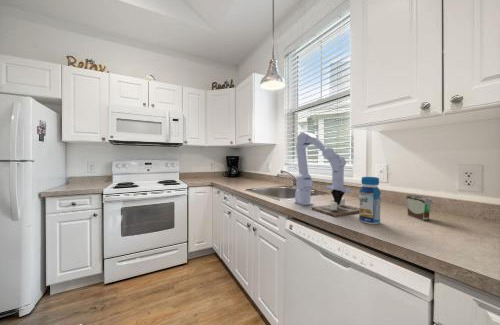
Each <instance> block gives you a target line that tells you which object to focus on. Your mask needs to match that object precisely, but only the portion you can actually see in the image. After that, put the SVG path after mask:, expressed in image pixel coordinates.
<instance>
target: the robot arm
mask: <svg viewBox="0 0 500 325" xmlns="http://www.w3.org/2000/svg"><path fill="white" fill-rule="evenodd" d="M296 140H297V142H296V147H295V148H296V156H297V158H296V159H297V166H298V175H297V177H296V183H295V184H296V187H297V189H295V192H294V200H295V201H293V202H294V203H295V204H298V205H302V206H309V205H314V203H313V202H311V200H312V199H311V191H312V188H313V186H314V182H313V180H312V175H310V173H309V169H308V168H309V166H308V159H307V152H306V151H307V150H306V149H307V148H308V146H310V145H311V144H313V145H314V146H315V147H316V148H317V149H318V150H319V151H321V155H322V156H323V157H324V158H325V159H326V160H327V161H328V162H329V164H330V166H331V171H332V173H331V179H332V180H331V185H326V186H325V189H326V190H330V194H331V196H332V197H333V198H332V199H334V201H335V202H336V203H337V205H339V204H340V202H341V199H342V198H343V196H344V195H345V193H346V194H351V193H352V192H351V188H348V187H344V182H345V180H344V179H345V178H344V177H345V171H344V170H345V166H346V165H347V162H346V159H345V158H344V157H342V156H340V154H338V153H336V152H335V150H334V148H332V147H326V146H327V145H325V144H324V143H323V142H322V141H321V140H320V139H319V138H318V136H317V135H315V134H314V133H312V132H304V131H301V132H299V134H298V135H297V137H296Z"/></svg>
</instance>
